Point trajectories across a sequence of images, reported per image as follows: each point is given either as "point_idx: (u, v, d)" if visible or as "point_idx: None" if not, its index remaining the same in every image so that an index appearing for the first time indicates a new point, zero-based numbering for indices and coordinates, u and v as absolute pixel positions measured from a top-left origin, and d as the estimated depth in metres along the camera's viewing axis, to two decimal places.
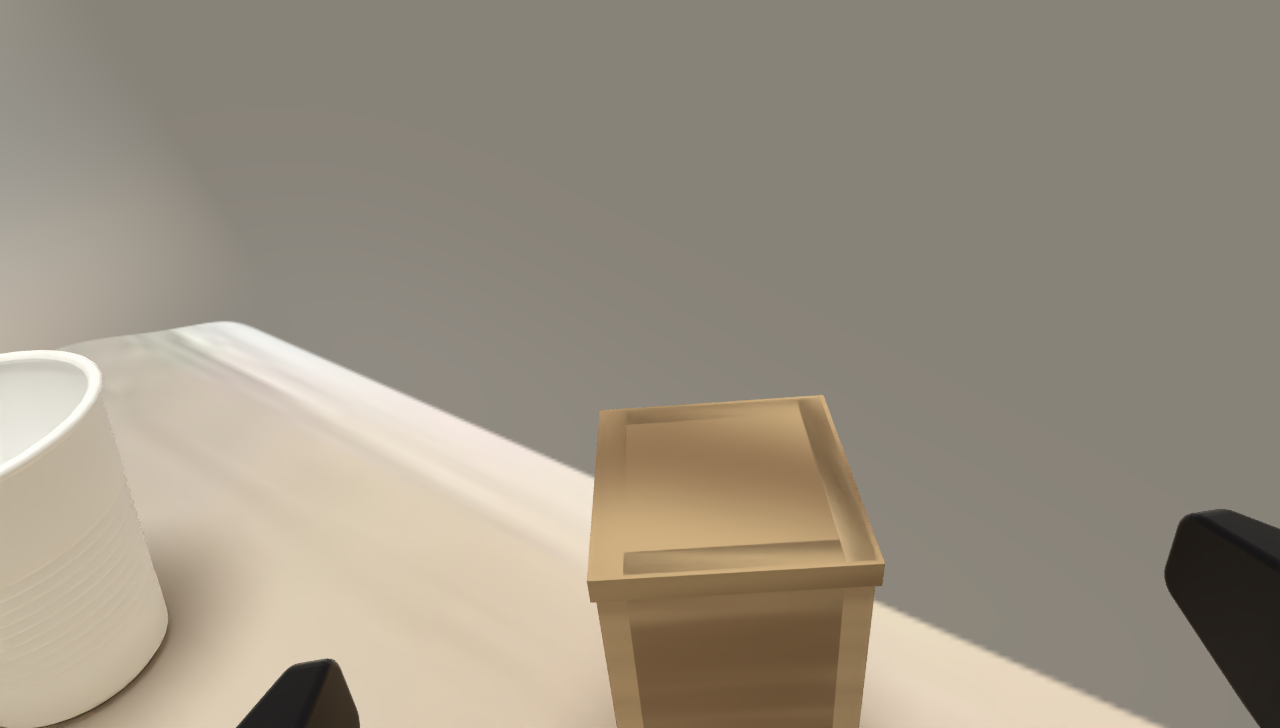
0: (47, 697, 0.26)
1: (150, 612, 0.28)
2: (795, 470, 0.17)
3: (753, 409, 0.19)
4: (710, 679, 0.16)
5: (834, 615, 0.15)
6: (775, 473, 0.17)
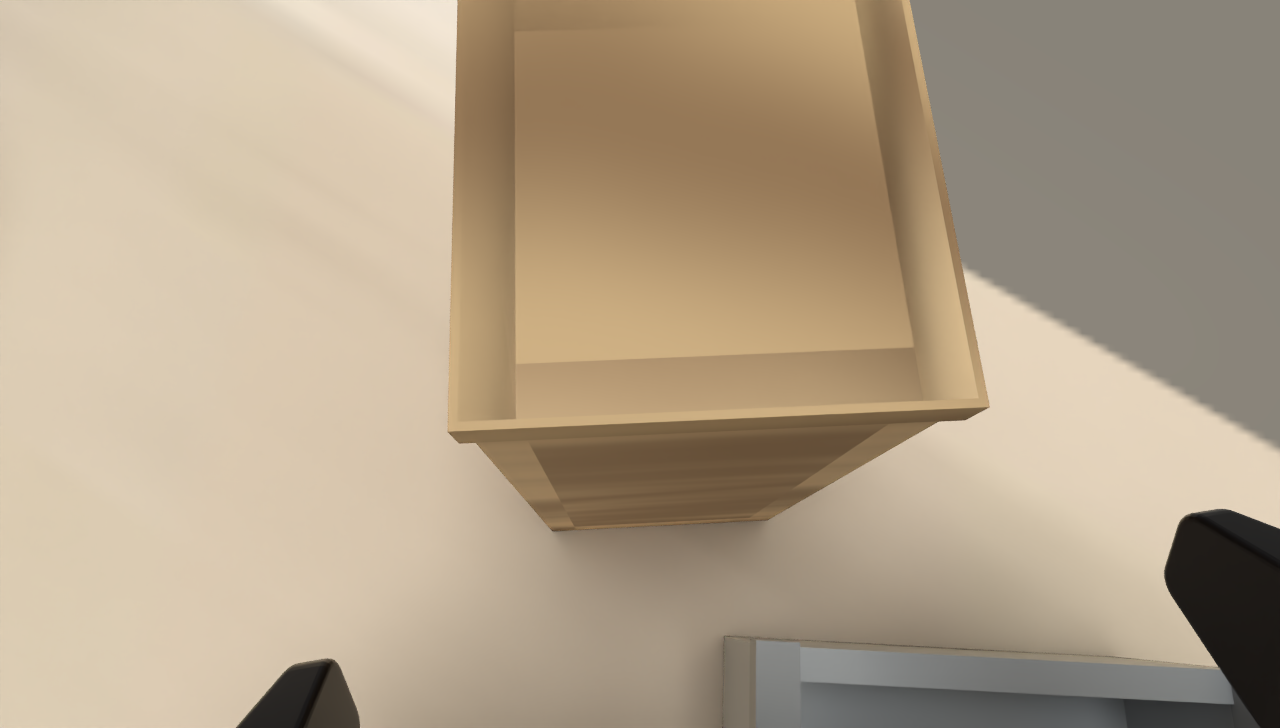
0: None
1: None
2: (843, 174, 0.09)
3: (767, 6, 0.10)
4: (652, 467, 0.11)
5: (864, 431, 0.10)
6: (804, 179, 0.09)
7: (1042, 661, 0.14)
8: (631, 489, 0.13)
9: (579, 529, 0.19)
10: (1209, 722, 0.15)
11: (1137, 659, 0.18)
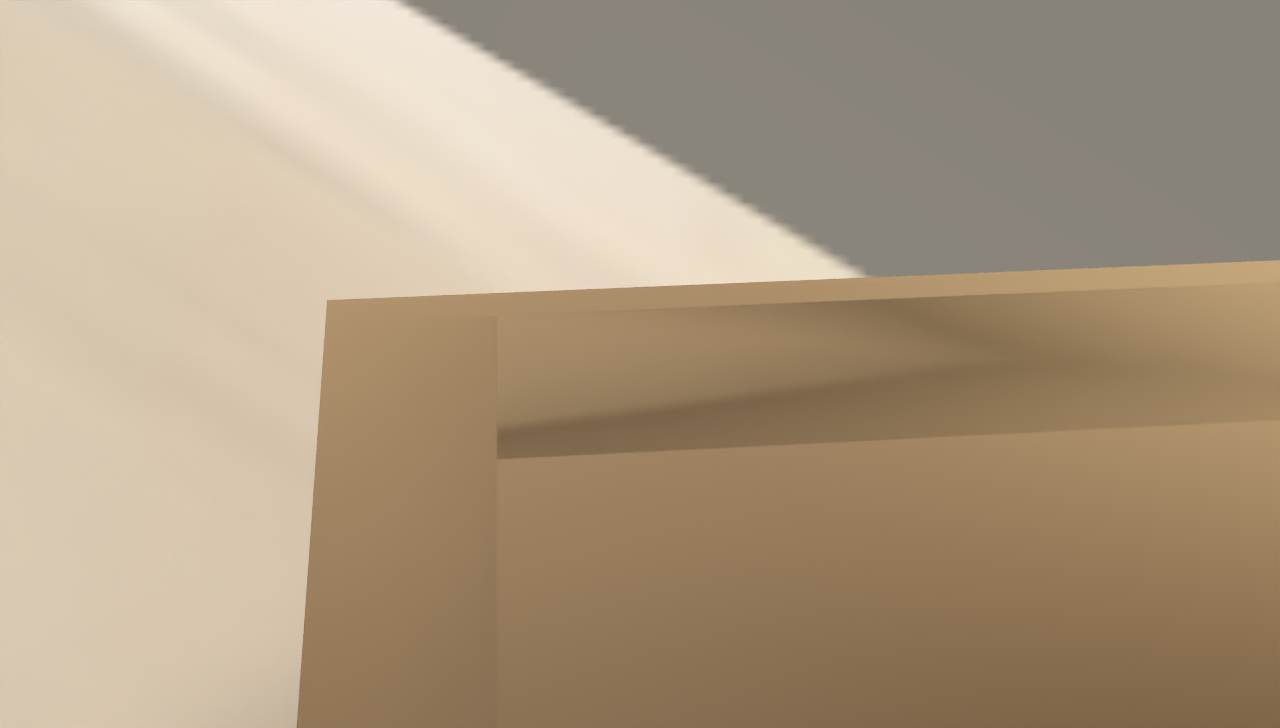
0: None
1: None
2: None
3: (1263, 352, 0.03)
4: None
5: None
6: None
7: None
8: None
9: None
10: None
11: None
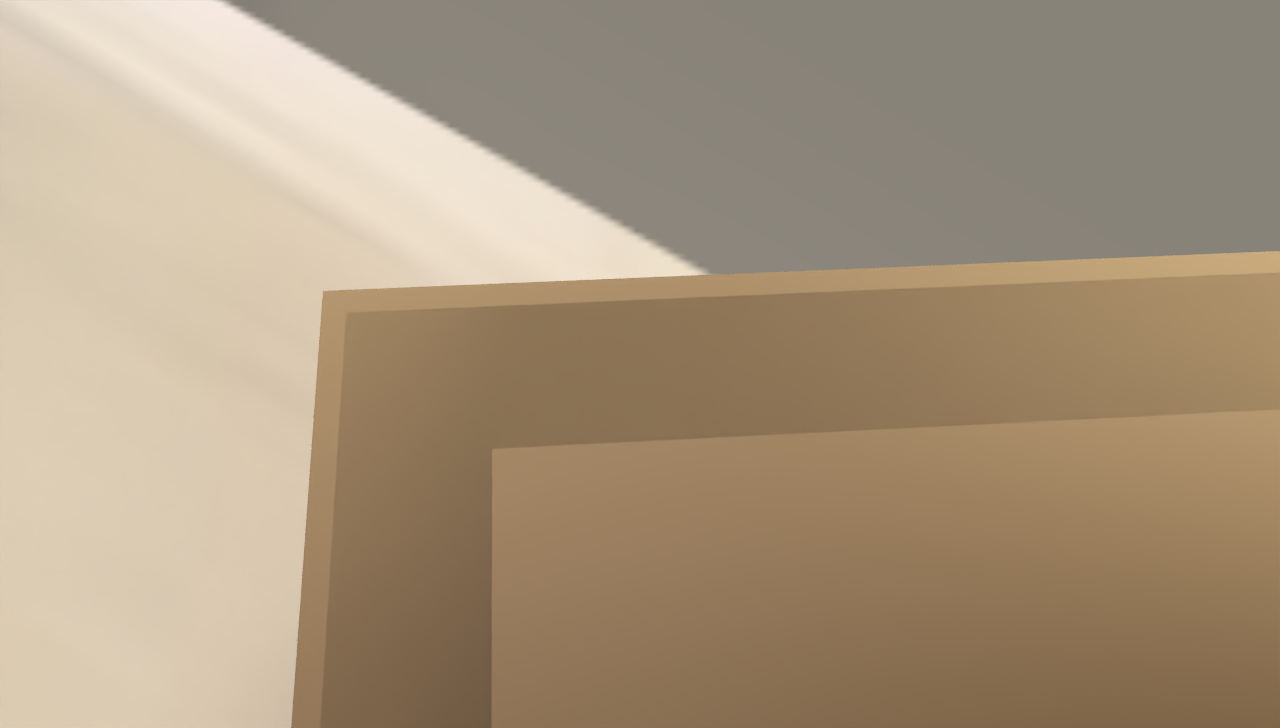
0: None
1: None
2: None
3: (1252, 342, 0.03)
4: None
5: None
6: None
7: None
8: None
9: None
10: None
11: None
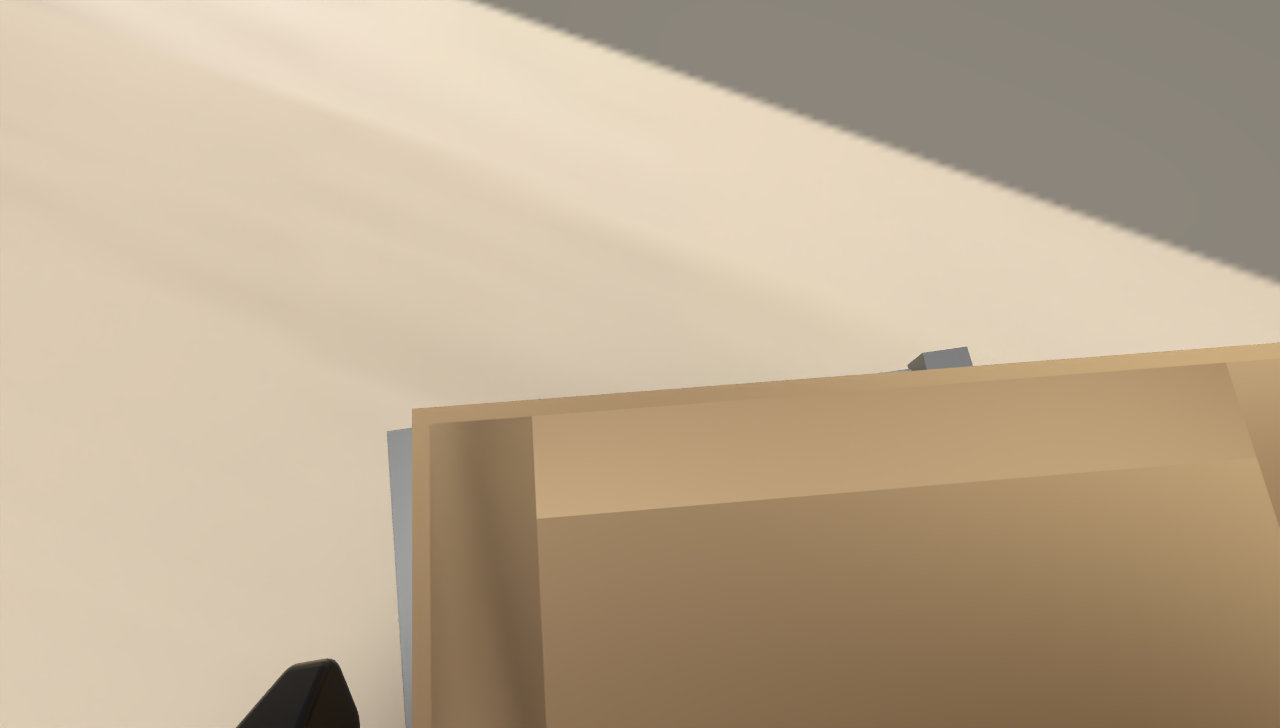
0: None
1: None
2: None
3: (1063, 425, 0.05)
4: None
5: None
6: None
7: None
8: None
9: None
10: None
11: None
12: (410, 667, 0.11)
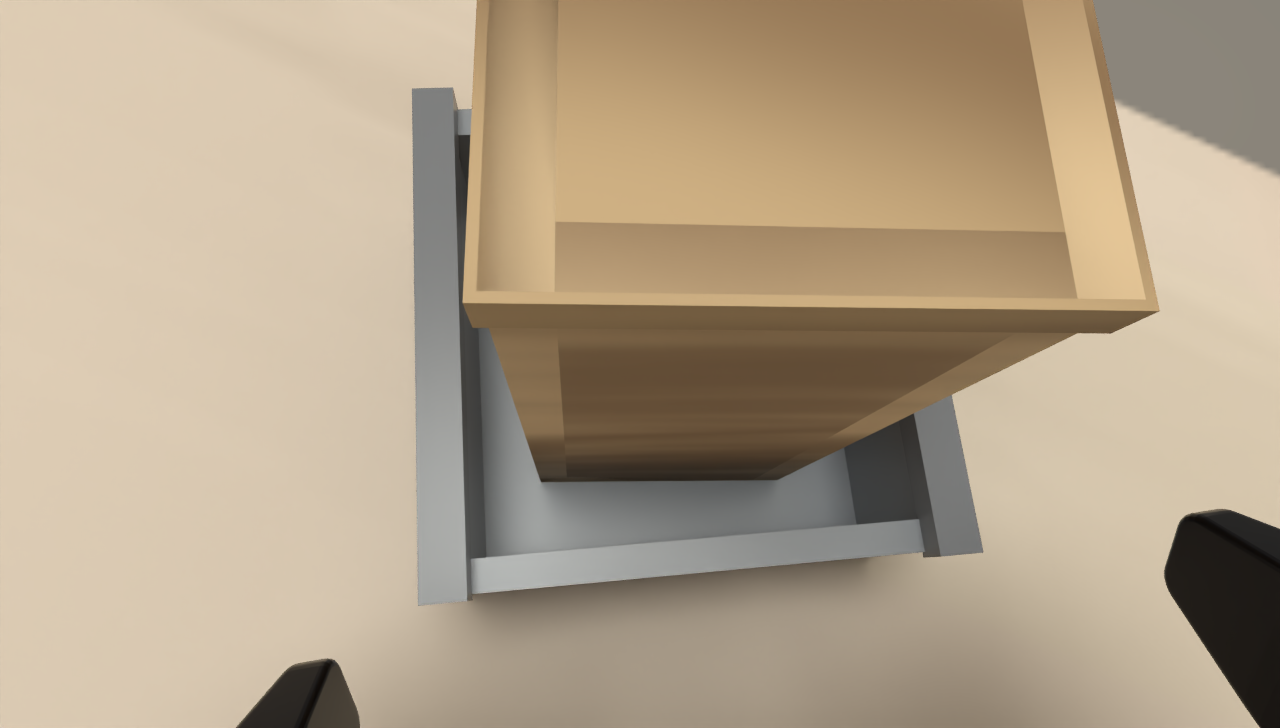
0: None
1: None
2: (975, 16, 0.07)
3: None
4: (691, 393, 0.09)
5: (968, 350, 0.08)
6: (927, 19, 0.07)
7: None
8: (651, 426, 0.11)
9: (570, 481, 0.17)
10: None
11: None
12: (420, 257, 0.14)
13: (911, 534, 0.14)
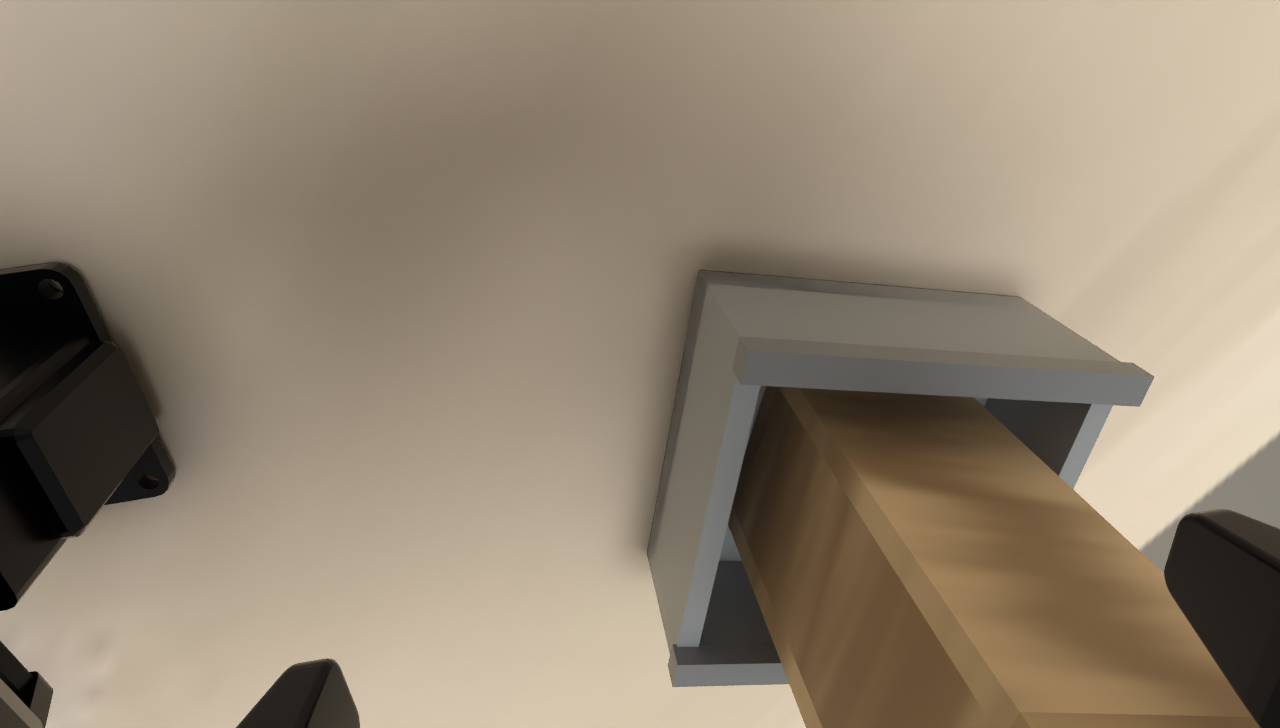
0: None
1: None
2: None
3: None
4: (885, 669, 0.14)
5: None
6: None
7: None
8: (847, 578, 0.16)
9: None
10: None
11: None
12: (1012, 372, 0.17)
13: (690, 641, 0.20)
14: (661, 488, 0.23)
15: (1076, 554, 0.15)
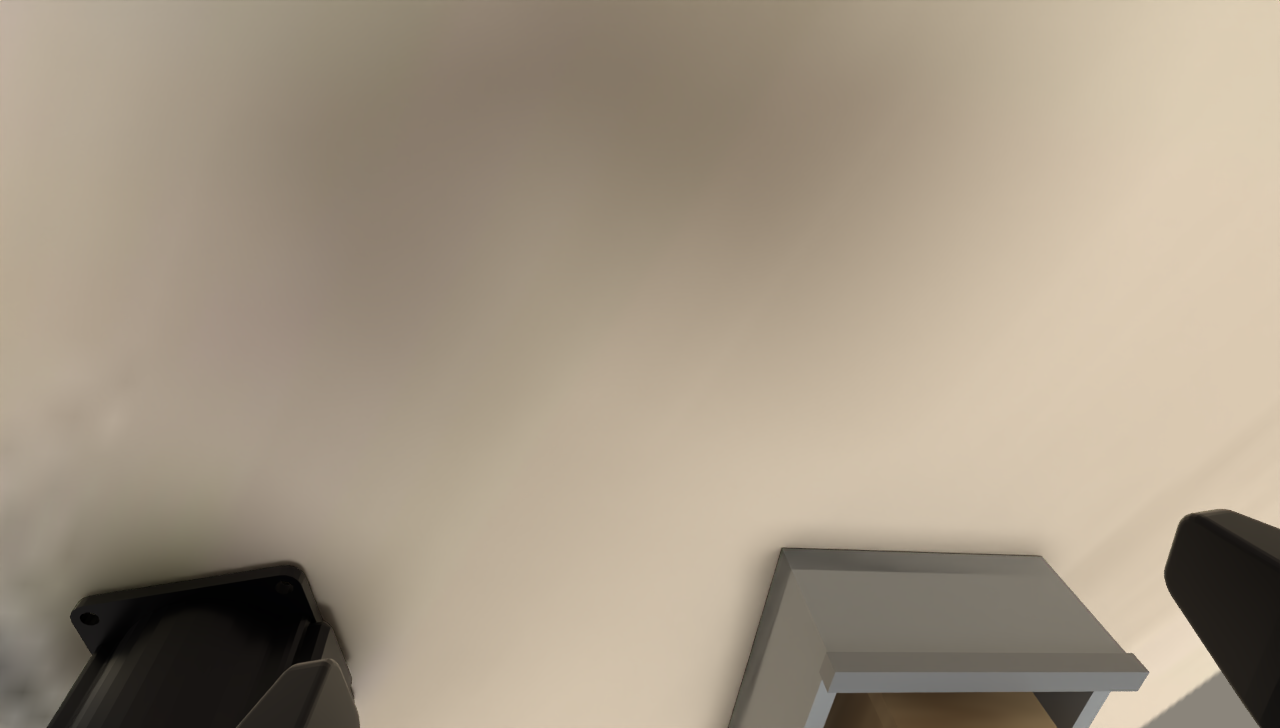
0: None
1: None
2: None
3: None
4: None
5: None
6: None
7: None
8: None
9: None
10: None
11: None
12: (1037, 675, 0.22)
13: None
14: (740, 700, 0.28)
15: None
